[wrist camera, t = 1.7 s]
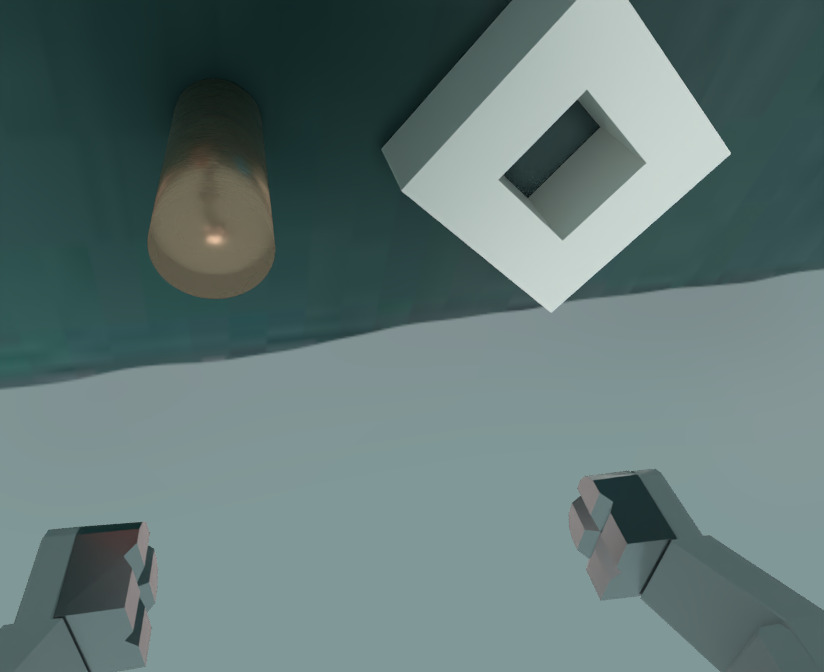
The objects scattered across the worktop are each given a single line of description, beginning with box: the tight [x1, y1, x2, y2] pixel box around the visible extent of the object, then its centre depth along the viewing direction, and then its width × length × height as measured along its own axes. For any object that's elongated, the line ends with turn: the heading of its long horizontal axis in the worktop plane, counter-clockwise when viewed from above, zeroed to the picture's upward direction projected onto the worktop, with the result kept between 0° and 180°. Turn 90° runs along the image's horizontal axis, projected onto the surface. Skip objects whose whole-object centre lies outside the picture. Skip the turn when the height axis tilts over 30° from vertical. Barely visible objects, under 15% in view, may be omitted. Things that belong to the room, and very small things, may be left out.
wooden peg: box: [147, 79, 275, 299], centre depth 25 cm, size 4×4×12 cm
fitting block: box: [381, 0, 731, 313], centre depth 32 cm, size 12×12×5 cm
